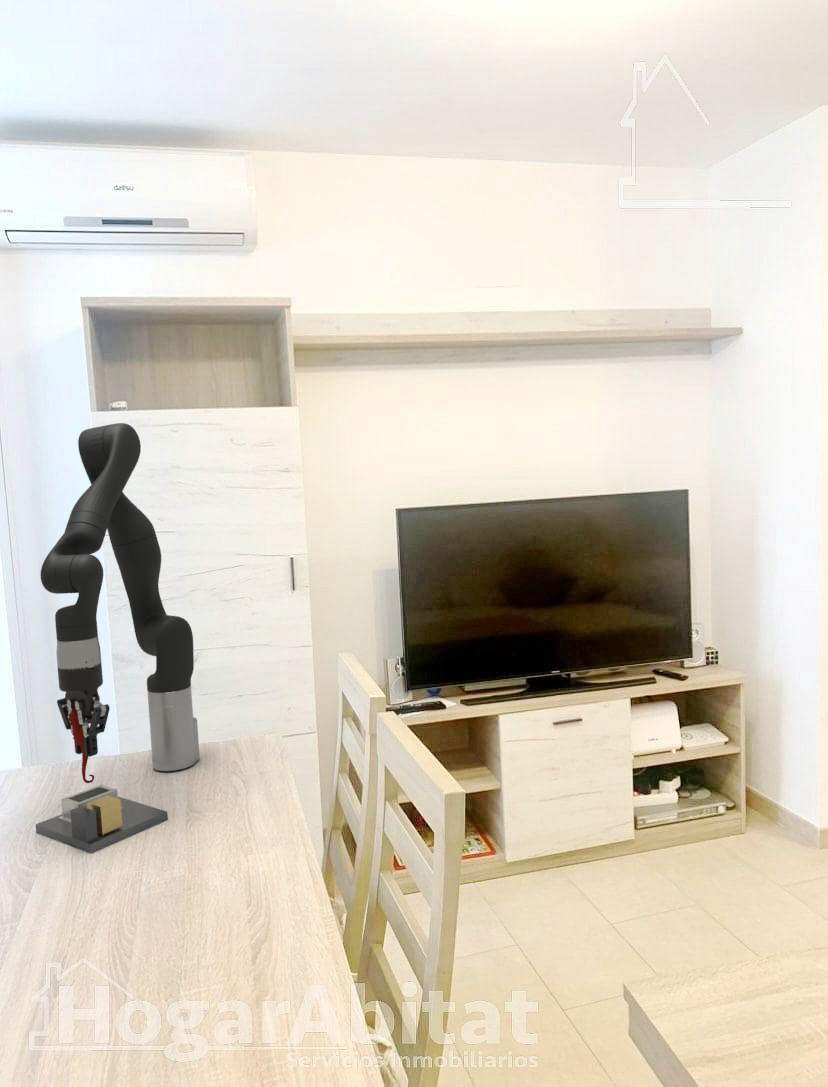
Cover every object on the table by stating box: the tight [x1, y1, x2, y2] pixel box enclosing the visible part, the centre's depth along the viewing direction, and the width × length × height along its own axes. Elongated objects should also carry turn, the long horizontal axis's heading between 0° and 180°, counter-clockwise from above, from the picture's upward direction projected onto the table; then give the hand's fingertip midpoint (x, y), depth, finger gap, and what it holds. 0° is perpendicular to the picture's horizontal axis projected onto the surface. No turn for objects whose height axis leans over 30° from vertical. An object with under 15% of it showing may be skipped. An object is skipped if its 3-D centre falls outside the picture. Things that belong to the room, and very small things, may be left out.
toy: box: [68, 707, 95, 784], centre depth 151 cm, size 2×5×15 cm, turn 119°
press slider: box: [87, 795, 123, 835], centre depth 144 cm, size 4×4×5 cm
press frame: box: [35, 784, 169, 854], centre depth 150 cm, size 16×17×6 cm
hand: (86, 753), depth 152 cm, fingers closed on toy, 2 cm apart
